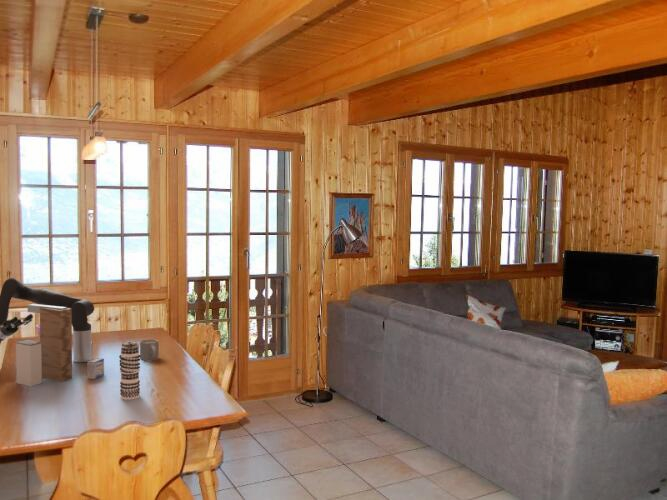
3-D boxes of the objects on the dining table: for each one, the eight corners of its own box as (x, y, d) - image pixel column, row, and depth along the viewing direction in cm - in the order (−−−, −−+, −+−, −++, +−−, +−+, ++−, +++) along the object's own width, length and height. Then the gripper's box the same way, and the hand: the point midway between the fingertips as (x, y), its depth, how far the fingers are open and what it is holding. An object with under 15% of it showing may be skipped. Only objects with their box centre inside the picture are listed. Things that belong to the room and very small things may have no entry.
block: (27, 379, 296) (27, 339, 295) (41, 383, 292) (41, 342, 290) (16, 383, 291) (15, 342, 289) (30, 386, 287) (30, 344, 285)
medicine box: (95, 379, 300) (95, 362, 299) (87, 378, 301) (86, 361, 300) (104, 375, 308) (104, 358, 307) (96, 374, 309) (96, 357, 308)
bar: (33, 310, 306) (33, 303, 305) (67, 314, 299) (66, 307, 298) (27, 311, 302) (27, 304, 302) (61, 315, 295) (61, 308, 295)
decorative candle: (128, 401, 269) (128, 345, 267) (114, 397, 274) (114, 342, 272) (144, 395, 277) (144, 342, 275) (131, 392, 282) (131, 339, 280)
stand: (52, 373, 307) (51, 305, 304) (72, 378, 301) (71, 308, 298) (40, 377, 301) (39, 307, 298) (60, 381, 295) (59, 310, 292)
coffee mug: (138, 357, 344) (138, 339, 343) (157, 355, 348) (157, 338, 347) (142, 363, 331) (142, 345, 331) (160, 361, 336) (160, 343, 335)
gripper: (-9, 325, 310) (9, 312, 303) (16, 320, 323) (34, 308, 316) (-4, 338, 309) (14, 326, 302) (21, 333, 322) (39, 321, 315)
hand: (24, 316), depth 309 cm, fingers open, 8 cm apart
